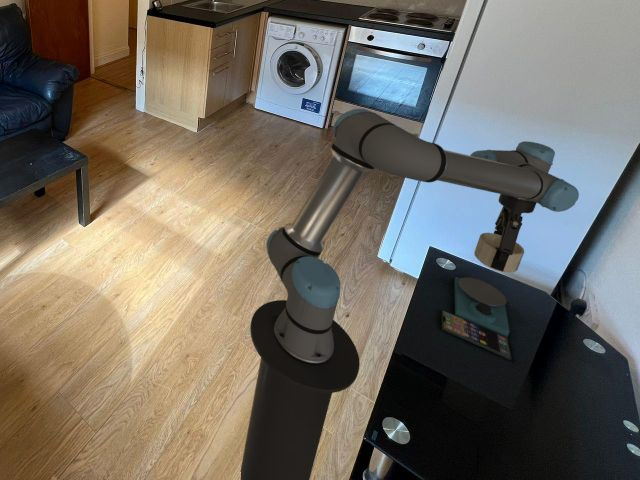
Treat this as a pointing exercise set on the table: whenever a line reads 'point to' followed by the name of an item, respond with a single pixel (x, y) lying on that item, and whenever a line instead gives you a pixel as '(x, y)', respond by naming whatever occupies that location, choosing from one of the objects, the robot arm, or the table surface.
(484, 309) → the tare button
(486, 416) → the table surface
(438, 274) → the table surface
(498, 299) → the scale pan
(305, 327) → the robot arm
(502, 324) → the scale
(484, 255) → the bowl
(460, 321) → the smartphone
